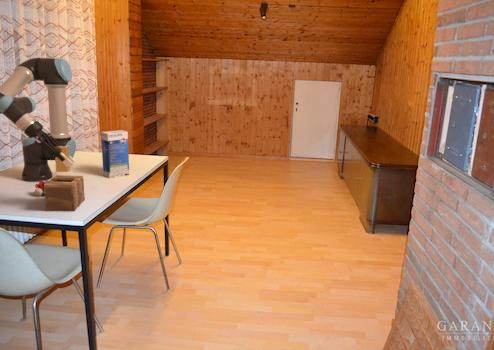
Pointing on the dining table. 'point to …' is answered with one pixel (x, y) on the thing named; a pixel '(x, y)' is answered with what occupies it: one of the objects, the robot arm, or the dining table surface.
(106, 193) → the dining table surface
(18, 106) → the robot arm
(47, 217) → the dining table surface
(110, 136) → the string lights box
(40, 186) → the multicolored rounded segment toy
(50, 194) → the wooden box with opening
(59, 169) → the tan rectangular block
